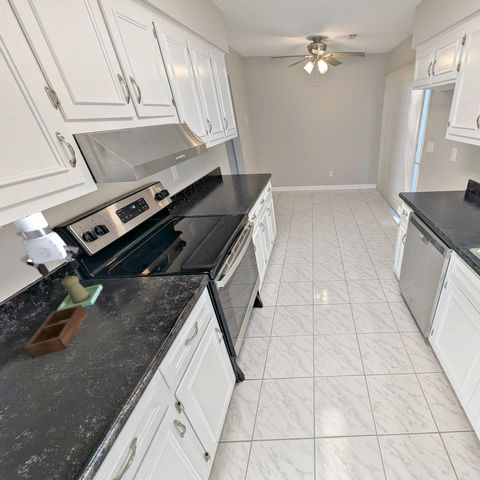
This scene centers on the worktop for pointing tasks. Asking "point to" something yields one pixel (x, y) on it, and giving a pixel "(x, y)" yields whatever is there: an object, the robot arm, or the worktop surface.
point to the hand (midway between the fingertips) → (61, 271)
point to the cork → (75, 289)
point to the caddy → (56, 331)
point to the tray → (94, 294)
